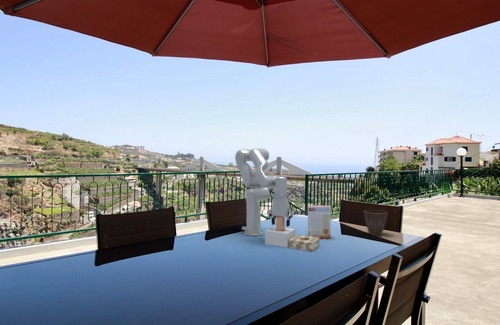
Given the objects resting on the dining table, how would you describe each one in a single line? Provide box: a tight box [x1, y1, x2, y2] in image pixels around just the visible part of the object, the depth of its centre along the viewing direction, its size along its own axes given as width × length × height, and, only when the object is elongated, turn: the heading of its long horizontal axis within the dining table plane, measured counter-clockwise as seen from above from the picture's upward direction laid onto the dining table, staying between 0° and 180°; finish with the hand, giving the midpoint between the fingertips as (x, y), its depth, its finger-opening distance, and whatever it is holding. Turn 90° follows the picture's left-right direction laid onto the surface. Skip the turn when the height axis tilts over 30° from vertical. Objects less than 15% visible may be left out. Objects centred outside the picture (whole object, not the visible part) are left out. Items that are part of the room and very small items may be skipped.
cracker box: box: [307, 204, 331, 240], centre depth 190 cm, size 14×6×21 cm, turn 84°
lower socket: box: [288, 234, 321, 252], centre depth 169 cm, size 14×14×4 cm
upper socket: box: [264, 226, 296, 249], centre depth 176 cm, size 14×14×8 cm
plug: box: [275, 216, 286, 231], centre depth 176 cm, size 4×4×12 cm
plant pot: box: [363, 209, 388, 237], centre depth 199 cm, size 15×15×16 cm
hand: (280, 225), depth 176 cm, fingers open, 8 cm apart
